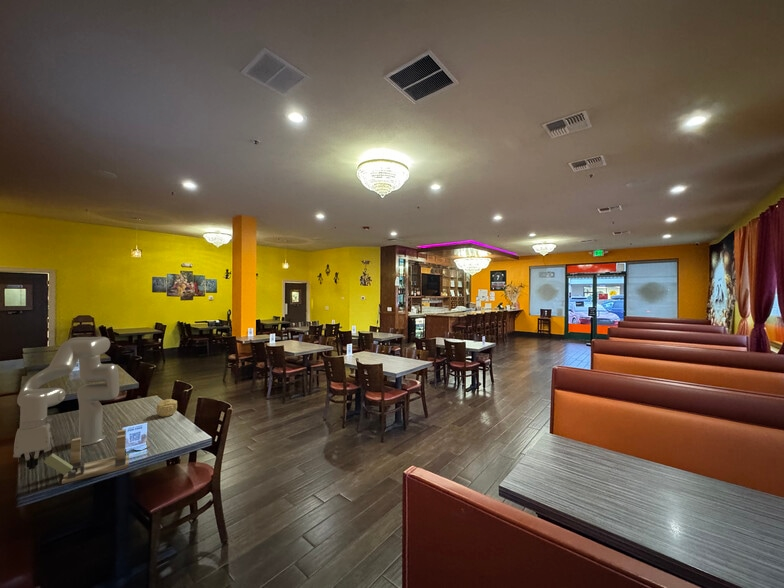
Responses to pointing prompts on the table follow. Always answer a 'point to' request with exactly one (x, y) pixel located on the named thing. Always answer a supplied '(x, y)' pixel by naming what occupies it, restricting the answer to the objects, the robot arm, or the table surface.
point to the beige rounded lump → (166, 407)
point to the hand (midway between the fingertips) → (32, 467)
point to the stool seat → (96, 466)
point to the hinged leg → (59, 464)
